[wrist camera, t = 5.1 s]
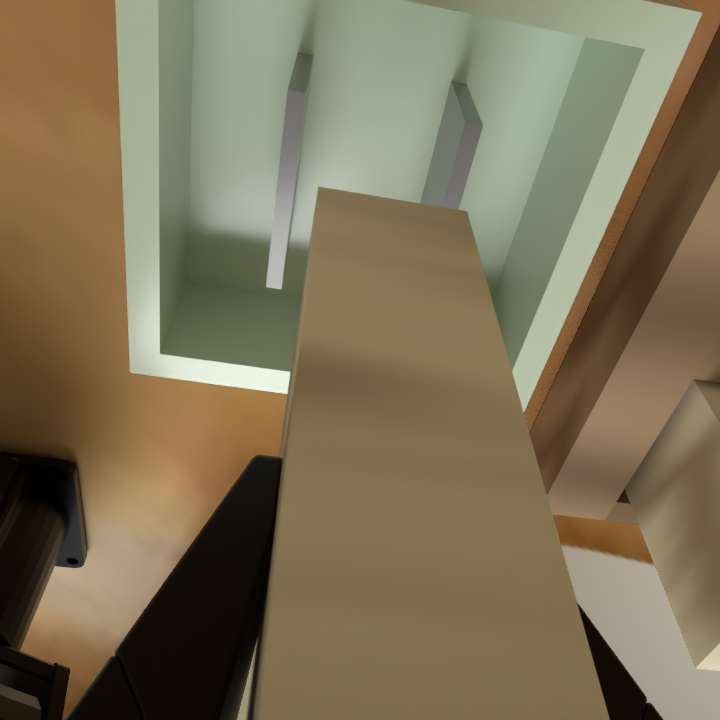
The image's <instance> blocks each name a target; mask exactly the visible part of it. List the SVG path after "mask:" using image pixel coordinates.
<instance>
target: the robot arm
mask: <svg viewBox="0 0 720 720" xmlns="http://www.w3.org/2000/svg"><path fill="white" fill-rule="evenodd" d="M281 468H282V458H280V457H273V456H265V455H256V456H254V457H253V458H252V459H251V461H250V462H249V464H248V465H247V466H246V468H245V469H244V471H243V472H242V473H241V475H240V476H239V478H238V479H237V480H236V482H235V483H234V485H233V486H232V487H231V489H230V490H229V492H228V493H227V495H226V496H225V497H224V499H223V500H222V502H221V503H220V504H219V506H218V507H217V509H216V510H215V511H214V513H213V514H212V516H211V517H210V518H209V520H208V521H207V523H206V524H205V525H204V527H203V528H202V530H201V531H200V533H199V534H198V535H197V537H196V538H195V540H194V541H193V542H192V544H191V545H190V547H189V548H188V549H187V551H186V552H185V554H184V555H183V556H182V558H181V559H180V561H179V562H178V563H177V565H176V566H175V568H174V569H173V571H172V572H171V573H170V575H169V576H168V578H167V579H166V580H165V582H164V583H163V585H162V586H161V587H160V589H159V590H158V592H157V593H156V594H155V596H154V597H153V599H152V600H151V601H150V603H149V604H148V606H147V607H146V608H145V610H144V611H143V613H142V614H141V616H140V617H139V618H138V620H137V621H136V623H135V624H134V625H133V627H132V628H131V630H130V631H129V632H128V634H127V635H126V637H125V638H124V639H123V641H122V642H121V644H120V645H119V646H118V648H117V649H116V651H115V656H112V657H110V659H109V660H108V661H107V663H106V664H105V666H104V667H103V668H102V670H101V671H100V673H99V674H98V675H97V677H96V678H95V680H94V681H93V682H92V684H91V685H90V687H89V688H88V689H87V691H86V692H85V693H84V694H83V696H82V697H81V698H80V700H79V701H78V702H77V704H76V705H75V706H74V708H73V709H72V710H71V712H70V713H69V714H68V716H67V717H66V718H65V720H237V717H238V713H239V709H240V705H241V701H242V697H243V693H244V689H245V685H246V681H247V677H248V674H249V669H250V665H251V661H252V658H253V654H254V650H255V646H256V642H257V638H258V633H259V627H260V621H261V615H262V609H263V603H264V596H265V590H266V584H267V578H268V572H269V565H270V559H271V553H272V546H273V538H274V530H275V521H276V512H277V503H278V494H279V485H280V476H281ZM86 557H87V549H86V540H85V531H84V523H83V514H82V505H81V497H80V488H79V479H78V471H77V468H76V466H75V465H74V464H73V463H71V462H69V461H66V460H60V459H52V458H43V457H35V456H27V455H18V454H10V453H1V452H0V720H62V716H63V710H64V704H65V698H66V692H67V686H68V680H69V673H70V668H69V667H66V666H64V665H61V664H59V663H54V664H51V663H49V662H46V661H44V660H41V659H39V658H36V657H34V656H31V655H29V654H26V653H24V652H21V651H20V649H21V647H22V644H23V642H24V639H25V637H26V635H27V632H28V630H29V627H30V625H31V622H32V620H33V618H34V615H35V613H36V610H37V608H38V605H39V603H40V600H41V598H42V596H43V593H44V591H45V588H46V586H47V583H48V581H49V579H50V576H51V574H52V571H53V569H54V566H60V567H70V568H79V567H82V566H83V565H84V563H85V560H86ZM577 605H578V608H579V612H580V615H581V619H582V622H583V626H584V630H585V633H586V637H587V640H588V644H589V647H590V651H591V655H592V658H593V662H594V665H595V669H596V672H597V676H598V679H599V683H600V687H601V690H602V694H603V697H604V701H605V704H606V708H607V712H608V715H609V719H610V720H663V719H662V717H661V716H660V715H659V713H658V712H657V711H656V709H655V708H654V706H653V705H652V704H651V703H646V702H647V698H646V696H645V694H644V693H643V692H642V690H641V689H640V688H639V686H638V685H637V684H636V682H635V681H634V679H633V678H632V677H631V675H630V674H629V673H628V671H627V670H626V669H625V667H624V666H623V664H622V663H621V662H620V660H619V659H618V657H617V656H616V655H615V654H614V652H613V651H612V649H611V648H610V647H609V645H608V644H607V643H606V641H605V640H604V638H603V637H602V636H601V634H600V633H599V631H598V630H597V629H596V627H595V626H594V625H593V623H592V622H591V620H590V619H589V618H588V616H587V615H586V614H585V612H584V611H583V610H582V608H581V607H580V605H579V604H578V603H577Z"/></svg>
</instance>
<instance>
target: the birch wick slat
mask: <svg viewBox="0 0 720 720" xmlns="http://www.w3.org/2000/svg"><path fill="white" fill-rule="evenodd" d="M279 457H280V458H282V468H281V476H280V485H279V494H278V503H277V512H276V521H275V530H274V538H273V546H272V553H271V559H270V565H269V572H268V578H267V584H266V590H265V596H264V603H263V609H262V615H261V621H260V627H259V633H258V638H257V642H256V646H255V650H254V658H253V666H252V674H251V682H250V689H249V697H248V705H247V713H246V720H610V719H609V715H608V712H607V708H606V704H605V701H604V697H603V694H602V690H601V687H600V683H599V679H598V676H597V672H596V669H595V665H594V662H593V658H592V655H591V651H590V647H589V644H588V640H587V637H586V633H585V630H584V626H583V622H582V619H581V615H580V612H579V608H578V605H577V601H576V598H575V594H574V590H573V587H572V583H571V580H570V576H569V573H568V569H567V565H566V562H565V558H564V555H563V551H562V548H561V544H560V541H559V537H558V533H557V530H556V526H555V523H554V519H553V516H552V512H551V508H550V505H549V501H548V498H547V494H546V491H545V487H544V484H543V480H542V476H541V473H540V469H539V466H538V462H537V459H536V455H535V451H534V448H533V444H532V441H531V437H530V434H529V430H528V426H527V423H526V419H525V416H524V412H523V409H522V405H521V402H520V398H519V394H518V391H517V387H516V384H515V380H514V377H513V373H512V369H511V366H510V362H509V359H508V355H507V352H506V348H505V345H504V341H503V337H502V334H501V330H500V327H499V323H498V320H497V316H496V312H495V309H494V305H493V302H492V298H491V295H490V291H489V288H488V284H487V280H486V277H485V273H484V270H483V266H482V263H481V259H480V255H479V252H478V248H477V245H476V241H475V238H474V234H473V231H472V227H471V223H470V220H469V216H468V213H467V211H463V210H457V209H451V208H445V207H439V206H433V205H427V204H421V203H415V202H409V201H403V200H397V199H391V198H385V197H379V196H373V195H367V194H361V193H355V192H349V191H343V190H337V189H331V188H325V187H319V186H318V191H317V198H316V205H315V211H314V218H313V225H312V231H311V238H310V245H309V251H308V258H307V265H306V271H305V278H304V285H303V291H302V298H301V305H300V312H299V318H298V325H297V332H296V338H295V345H294V352H293V358H292V365H291V372H290V378H289V385H288V392H287V398H286V405H285V412H284V420H283V428H282V436H281V444H280V452H279Z"/></svg>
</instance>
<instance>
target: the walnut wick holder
mask: <svg viewBox="0 0 720 720" xmlns="http://www.w3.org/2000/svg"><path fill="white" fill-rule="evenodd" d="M694 379H698V380H705V381H712V382H719V383H720V27H719V29H718V31H717V33H716V35H715V37H714V40H713V42H712V44H711V46H710V48H709V50H708V52H707V55H706V57H705V59H704V61H703V63H702V65H701V67H700V70H699V72H698V74H697V76H696V78H695V80H694V82H693V85H692V87H691V89H690V91H689V93H688V95H687V97H686V100H685V102H684V104H683V106H682V108H681V110H680V112H679V115H678V117H677V119H676V121H675V123H674V125H673V127H672V130H671V132H670V134H669V136H668V138H667V140H666V142H665V145H664V147H663V149H662V151H661V153H660V155H659V157H658V159H657V162H656V164H655V166H654V168H653V170H652V172H651V174H650V177H649V179H648V181H647V183H646V185H645V187H644V189H643V192H642V194H641V196H640V198H639V200H638V202H637V204H636V207H635V209H634V211H633V213H632V215H631V217H630V219H629V222H628V224H627V226H626V228H625V230H624V232H623V234H622V237H621V239H620V241H619V243H618V245H617V247H616V249H615V252H614V254H613V256H612V258H611V260H610V262H609V264H608V267H607V269H606V271H605V273H604V275H603V277H602V279H601V282H600V284H599V286H598V288H597V290H596V292H595V294H594V297H593V299H592V301H591V303H590V305H589V307H588V309H587V312H586V314H585V316H584V318H583V320H582V322H581V324H580V327H579V329H578V331H577V333H576V335H575V337H574V339H573V342H572V344H571V346H570V348H569V350H568V352H567V354H566V357H565V359H564V361H563V363H562V365H561V367H560V369H559V372H558V374H557V376H556V378H555V380H554V382H553V384H552V387H551V389H550V391H549V393H548V395H547V397H546V399H545V402H544V404H543V406H542V408H541V410H540V412H539V414H538V417H537V419H536V421H535V423H534V425H533V427H532V429H531V432H530V437H531V441H532V444H533V448H534V451H535V455H536V459H537V462H538V466H539V469H540V473H541V476H542V480H543V484H544V487H545V491H546V494H547V498H548V501H549V505H550V508H551V512H552V514H555V515H564V516H572V517H580V518H589V519H597V520H605V521H614V522H622V523H630V524H638V522H637V519H636V517H635V514H634V512H633V509H632V506H631V504H630V501H629V499H628V496H627V494H626V491H625V487H626V486H627V484H628V482H629V481H630V479H631V478H632V476H633V475H634V473H635V471H636V470H637V468H638V467H639V465H640V463H641V462H642V460H643V459H644V457H645V456H646V454H647V452H648V451H649V449H650V448H651V446H652V444H653V443H654V441H655V440H656V438H657V437H658V435H659V433H660V432H661V430H662V429H663V427H664V425H665V424H666V422H667V421H668V419H669V418H670V416H671V414H672V413H673V411H674V410H675V408H676V407H677V405H678V403H679V402H680V400H681V399H682V397H683V395H684V394H685V392H686V391H687V389H688V388H689V386H690V384H691V383H692V381H693V380H694Z"/></svg>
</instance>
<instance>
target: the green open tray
mask: <svg viewBox="0 0 720 720" xmlns="http://www.w3.org/2000/svg"><path fill="white" fill-rule="evenodd" d="M115 7H116V32H117V57H118V82H119V107H120V133H121V158H122V183H123V208H124V233H125V259H126V284H127V309H128V334H129V360H130V373H136V374H143V375H151V376H158V377H165V378H173V379H180V380H188V381H195V382H203V383H210V384H218V385H225V386H233V387H240V388H247V389H255V390H262V391H270V392H277V393H285V394H287V392H288V385H289V378H290V372H291V365H292V358H293V352H294V345H295V338H296V332H297V325H298V318H299V312H300V305H301V298H302V291H303V285H304V278H305V271H306V265H307V258H308V251H309V245H310V238H311V231H312V225H313V218H314V211H315V205H316V198H317V191H318V186H319V187H325V188H331V189H337V190H343V191H349V192H355V193H361V194H367V195H373V196H379V197H385V198H391V199H397V200H403V201H409V202H415V203H421V204H427V205H433V206H439V207H445V208H451V209H457V210H463V211H467V213H468V216H469V220H470V223H471V227H472V231H473V234H474V238H475V241H476V245H477V248H478V252H479V255H480V259H481V263H482V266H483V270H484V273H485V277H486V280H487V284H488V288H489V291H490V295H491V298H492V302H493V305H494V309H495V312H496V316H497V320H498V323H499V327H500V330H501V334H502V337H503V341H504V345H505V348H506V352H507V355H508V359H509V362H510V366H511V369H512V373H513V377H514V380H515V384H516V387H517V391H518V394H519V398H520V402H521V405H522V409H523V412H524V411H525V409H526V407H527V404H528V402H529V400H530V398H531V395H532V393H533V391H534V389H535V386H536V384H537V382H538V380H539V377H540V375H541V373H542V371H543V369H544V366H545V364H546V362H547V360H548V357H549V355H550V353H551V351H552V348H553V346H554V344H555V342H556V339H557V337H558V335H559V333H560V331H561V328H562V326H563V324H564V322H565V319H566V317H567V315H568V313H569V310H570V308H571V306H572V304H573V301H574V299H575V297H576V295H577V293H578V290H579V288H580V286H581V284H582V281H583V279H584V277H585V275H586V272H587V270H588V268H589V266H590V263H591V261H592V259H593V257H594V255H595V252H596V250H597V248H598V246H599V243H600V241H601V239H602V237H603V234H604V232H605V230H606V228H607V225H608V223H609V221H610V219H611V217H612V214H613V212H614V210H615V208H616V205H617V203H618V201H619V199H620V196H621V194H622V192H623V190H624V187H625V185H626V183H627V181H628V179H629V176H630V174H631V172H632V170H633V167H634V165H635V163H636V161H637V158H638V156H639V154H640V152H641V149H642V147H643V145H644V143H645V141H646V138H647V136H648V134H649V132H650V129H651V127H652V125H653V123H654V120H655V118H656V116H657V114H658V111H659V109H660V107H661V105H662V103H663V100H664V98H665V96H666V94H667V91H668V89H669V87H670V85H671V82H672V80H673V78H674V76H675V73H676V71H677V69H678V67H679V65H680V62H681V60H682V58H683V56H684V53H685V51H686V49H687V47H688V44H689V42H690V40H691V38H692V35H693V33H694V31H695V29H696V27H697V24H698V22H699V20H700V18H701V15H702V12H700V11H699V10H697V9H695V8H693V7H691V6H690V5H688V4H686V3H684V2H683V1H681V0H115Z"/></svg>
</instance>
